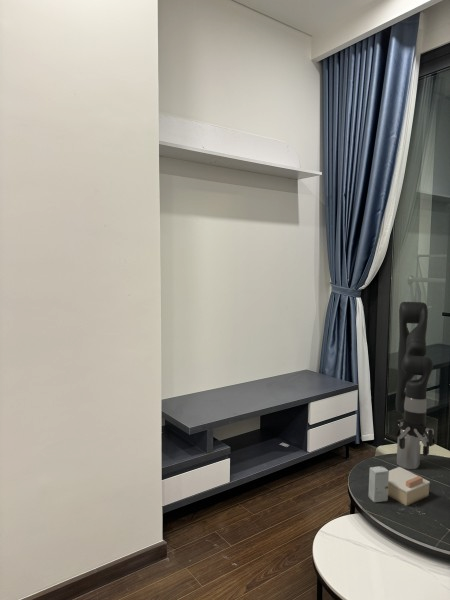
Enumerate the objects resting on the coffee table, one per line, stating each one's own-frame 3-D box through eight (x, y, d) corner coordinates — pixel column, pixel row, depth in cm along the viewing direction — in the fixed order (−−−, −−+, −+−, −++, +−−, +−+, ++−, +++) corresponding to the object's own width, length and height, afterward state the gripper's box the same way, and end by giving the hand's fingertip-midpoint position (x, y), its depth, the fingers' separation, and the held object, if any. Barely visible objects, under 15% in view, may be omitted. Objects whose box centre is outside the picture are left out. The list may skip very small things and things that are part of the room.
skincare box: (374, 503, 163) (375, 472, 161) (367, 496, 167) (368, 467, 166) (388, 500, 164) (389, 471, 163) (381, 494, 168) (382, 465, 167)
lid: (399, 468, 179) (399, 462, 179) (430, 483, 167) (430, 477, 167) (376, 476, 172) (377, 470, 172) (406, 493, 160) (407, 486, 159)
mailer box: (399, 480, 179) (399, 469, 179) (428, 495, 167) (429, 483, 167) (377, 489, 172) (377, 477, 172) (406, 506, 161) (406, 493, 160)
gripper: (439, 412, 155) (437, 455, 156) (401, 403, 166) (400, 444, 167) (430, 415, 150) (428, 460, 151) (392, 406, 161) (390, 448, 162)
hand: (413, 451), depth 159 cm, fingers open, 8 cm apart
